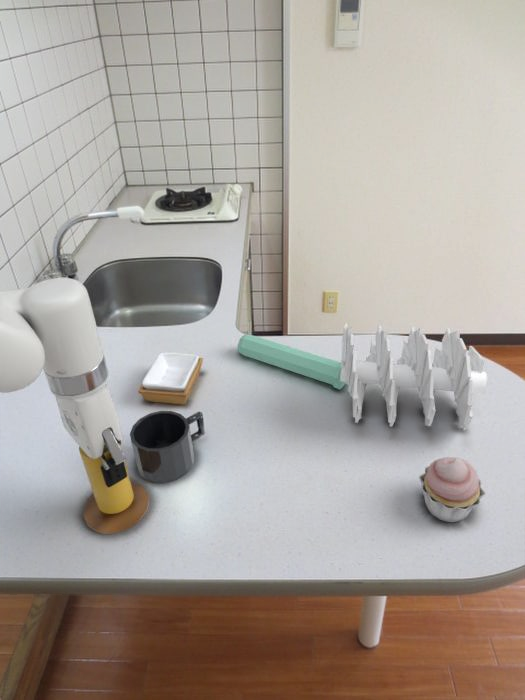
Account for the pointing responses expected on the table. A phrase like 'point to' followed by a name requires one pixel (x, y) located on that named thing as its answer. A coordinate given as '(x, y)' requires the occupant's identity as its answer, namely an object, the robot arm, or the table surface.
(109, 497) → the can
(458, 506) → the cupcake
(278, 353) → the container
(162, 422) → the mug
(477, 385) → the spiral staircase
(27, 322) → the robot arm
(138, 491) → the coaster
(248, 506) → the table surface
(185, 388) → the soap dish
